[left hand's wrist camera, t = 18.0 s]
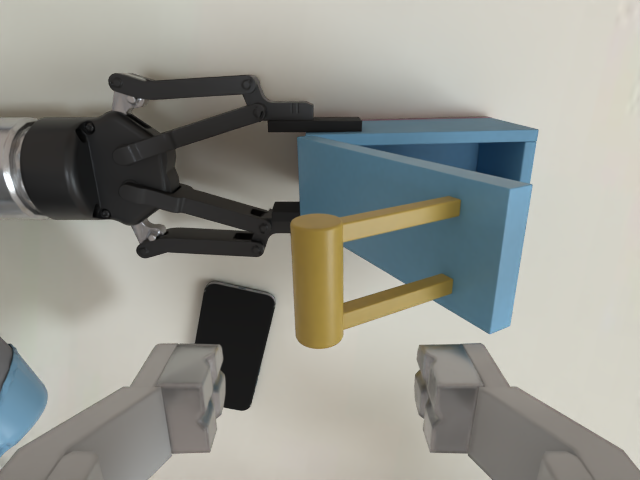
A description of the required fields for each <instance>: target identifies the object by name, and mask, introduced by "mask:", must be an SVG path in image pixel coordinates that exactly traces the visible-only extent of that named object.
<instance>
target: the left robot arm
mask: <svg viewBox="0 0 640 480" xmlns="http://www.w3.org/2000/svg"><path fill="white" fill-rule="evenodd" d="M222 362H223V353H222V347H221V346H220V344H178V343H165V344H157V345H156V346H155V347H154V348H153V350H152V352H151V353H150V355H149V356H148V358H147V360H146V361H145V363H144V365H143V366H142V368H141V369H140V371H139V373H138V374H137V376H136V377H135V379H134V381H133V382H132V384H131V386H130V387H122V388H121V389H119V390H117V391H115V392H114V393H112V394H110V395H109V396H107V397H105V398H104V399H102V400H100V401H99V402H97V403H95V404H94V405H92V406H90V407H88V408H87V409H85V410H83V411H82V412H80V413H78V414H77V415H75V416H73V417H72V418H70V419H68V420H67V421H65V422H63V423H61V424H60V425H58V426H56V427H55V428H53V429H51V430H50V431H48V432H46V433H45V434H43V435H41V436H40V437H38V438H36V439H34V440H33V441H31V442H29V443H28V444H26V445H24V446H23V447H21V448H19V449H18V450H17V451H16V452H15V453H14V455H13V456H12V457H11V458H10V460H9V461H8V462H7V463H6V464H5V466H4V467H3V468H2V469H1V471H0V480H148V479H149V478H150V477H151V476H152V475H153V474H154V473H155V472H156V471H157V470H158V469H159V468H160V467H161V466H162V465H163V464H164V463H165V462H166V461H167V460H168V459H169V458H170V457H171V456H172V453H206V452H210V451H211V448H212V444H213V441H214V438H215V434H216V431H217V424H216V419H217V418H218V417H219V416H220V415H221V414H222V410H223V406H224V400H225V374H224V373H223V372H222V371H221V370H220V368H221V365H222ZM417 362H418V365H419V368H420V370H419V371H418V372H417V373H416V374H415V385H414V387H415V401H416V406H417V410H418V414H419V415H420V416H421V417H422V418H423V419H424V424H423V431H424V434H425V438H426V441H427V444H428V447H429V451H430V452H432V453H468V456H469V457H470V458H471V459H472V460H473V461H474V462H475V463H476V464H477V465H478V466H479V467H480V468H481V469H482V470H483V471H484V472H485V473H486V474H487V475H488V476H489V477H490V478H491V479H492V480H640V470H639V469H638V468H637V467H636V465H635V464H634V463H633V462H632V461H631V459H630V458H629V457H628V456H627V454H626V453H625V452H624V451H623V450H622V449H620V448H619V447H617V446H615V445H614V444H612V443H610V442H609V441H607V440H605V439H604V438H602V437H600V436H599V435H597V434H595V433H593V432H592V431H590V430H588V429H587V428H585V427H583V426H582V425H580V424H578V423H577V422H575V421H573V420H572V419H570V418H568V417H567V416H565V415H563V414H562V413H560V412H558V411H556V410H555V409H553V408H551V407H550V406H548V405H546V404H545V403H543V402H541V401H540V400H538V399H536V398H535V397H533V396H531V395H530V394H528V393H526V392H525V391H523V390H521V389H519V388H518V387H510V386H509V384H508V382H507V381H506V379H505V378H504V376H503V374H502V373H501V371H500V370H499V368H498V366H497V365H496V363H495V362H494V360H493V358H492V357H491V355H490V354H489V352H488V350H487V349H486V347H485V346H484V345H483V344H481V343H471V344H447V345H419V348H418V352H417Z"/></svg>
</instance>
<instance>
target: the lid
mask: <svg viewBox="0 0 640 480" xmlns="http://www.w3.org/2000/svg"><path fill="white" fill-rule="evenodd" d="M297 145H298V170H299V195H300V216H299V217H296V218H294V219H293V220H292V221H291V223H290V228H291V249H292V269H293V289H294V309H295V330H296V338H297V340H298V341H299V342H300V343H301V344H302V345H304V346H306V347H309V348H314V349H324V348H329V347H332V346H334V345H336V344H338V343H339V342H340V341H341V339H342V337H343V330H344V329H347V328H350V327H353V326H356V325H359V324H362V323H365V322H368V321H371V320H374V319H377V318H380V317H383V316H386V315H389V314H392V313H395V312H398V311H401V310H404V309H407V308H410V307H413V306H416V305H419V304H422V303H425V302H428V301H431V300H433V301H435V302H437V303H438V304H440V305H442V306H443V307H445V308H447V309H448V310H450V311H452V312H453V313H455V314H457V315H458V316H460V317H462V318H463V319H465V320H467V321H468V322H470V323H472V324H473V325H475V326H477V327H478V328H480V329H482V330H483V331H485V332H487V333H488V334H492V333H494V332H497V331H499V330H501V329H504V328H506V327H509V326H510V323H511V317H512V310H513V304H514V298H515V292H516V285H517V279H518V273H519V267H520V260H521V254H522V248H523V242H524V235H525V229H526V223H527V217H528V210H529V204H530V198H531V191H532V184H528V183H524V182H519V181H515V180H510V179H506V178H501V177H497V176H492V175H488V174H483V173H479V172H474V171H470V170H465V169H461V168H456V167H452V166H447V165H443V164H439V163H434V162H430V161H425V160H421V159H416V158H412V157H407V156H403V155H398V154H394V153H389V152H385V151H380V150H376V149H371V148H367V147H362V146H358V145H353V144H349V143H344V142H340V141H335V140H331V139H326V138H322V137H317V136H302V137H297ZM343 247H345V248H347V249H348V250H350V251H352V252H353V253H355V254H357V255H358V256H360V257H362V258H363V259H365V260H367V261H368V262H370V263H372V264H373V265H375V266H377V267H378V268H380V269H382V270H383V271H385V272H387V273H388V274H390V275H392V276H393V277H395V278H397V279H398V280H400V281H402V282H403V283H405V285H401V286H398V287H395V288H391V289H388V290H385V291H381V292H378V293H375V294H372V295H368V296H365V297H362V298H358V299H355V300H352V301H348V302H345V303H343Z"/></svg>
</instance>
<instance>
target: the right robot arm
mask: <svg viewBox="0 0 640 480" xmlns="http://www.w3.org/2000/svg"><path fill="white" fill-rule="evenodd" d="M108 82H109V86H110V88H111V89H112V90H114V98H113V106H112V111H109V112H107V113H105V114H103V115H102V116H100V117H45V118H41V119H36V118H33V117H0V220H46V219H49V218H51V219H55V220H105V219H112V220H116V221H119V222H121V223H123V224H125V225H129V226H132V228H133V230H134V232H135V235H136V237H137V239H138V241H139V243H140V244H139V245H138V247H137V249H136V251H137V254H138V255H139V256H140V257H142V258H149V257H153V256H156V255H160V254H163V253H167V252H171V253H190V254H210V255H229V256H248V257H259V256H261V255H262V254H263V252H264V249H265V247H266V244H267V241H268V238H269V237H270V236H271V235H272V234H275V233H291V228H290V223H291V221H292V220H293V219H294V218H296V217H299V216H300V202H275V203H274V206H273V209H270V210H269V211H267V210H264V209H260V208H257V207H253V206H250V205H246V204H243V203H239V202H236V201H232V200H229V199H225V198H222V197H219V196H215V195H212V194H208V193H205V192H201V191H198V190H195V189H193V188H192V187H190V186H188V185H184V184H181V183H179V178H178V175H177V172H176V169H175V160H176V153H175V149H176V148H178V147H181V146H185V145H188V144H191V143H194V142H197V141H200V140H203V139H206V138H209V137H213V136H216V135H219V134H222V133H225V132H228V131H231V130H234V129H237V128H241V127H244V126H247V125H250V124H253V123H256V122H261V121H268V132H362V120H361V119H360V118H359V117H313V104H311V103H309V102H307V101H299V102H298V101H293V102H292V101H270V100H268V99H267V98H266V97H265V95H264V93H263V91H262V88H261V86H260V81H259V79H258V78H257V77H256V76H254V75H239V76H222V77H206V78H190V79H174V80H157V81H155V80H152V79H149V78H146V77H142V76H139V75H136V74H132V73H114V74H112V75H111V76H110V77H109V80H108ZM240 94H243V97H244V99H245V102H246V104H247V106H244V107H241V108H238V109H235V110H232V111H229V112H225V113H222V114H219V115H216V116H213V117H210V118H207V119H204V120H201V121H198V122H195V123H192V124H189V125H186V126H183V127H179V128H176V129H173V130H170V131H167V132H164V133H159V132H158V131H156V130H155V129H153V128H152V127H150V126H149V125H147V124H146V123H144V122H143V121H141V120H140V119H138V118H137V117H135V116H134V115H133V114H131V112H132V110H133V109H134V108H139V107H143V106H146V105H147V104H148V101H149V100H158V99H174V98H191V97H207V96H224V95H240ZM158 209H162V210H166V211H169V212H173V213H186V214H189V215H193V216H196V217H200V218H204V219H207V220H211V221H214V222H218V223H221V224H225V225H228V226H232V227H235V228H239V229H243V230H246V231H236V230H217V229H198V228H170V229H166V227H165V226H164V225H161V224H152V223H151V222H149V221H148V219H147V218H148V217H149V216H150V215H152V214H153V213H154V212H156V211H157V210H158ZM47 398H48V394H47V390H46V388H45V386H44V384H43V383H42V382H41V381H40V379H39V378H38V377H37V376H36V374H35V373H34V372H33V371H32V369H31V368H30V367H29V366H28V365H27V363H26V362H25V361H24V360H23V358H22V357H21V356H20V355H19V353H18V352H17V349H16V348H15V347H14V346H13V345H12V344H7V343H6V342H5V341H4V340H3V339H2V338H1V337H0V457H1V456H2V455H3V454H4V453H5V452H6V451H7V450H8V449H10V448H11V447H13V446H14V445H16V444H17V443H18V442H19V441H20V440H21V439H22V438H23V437H24V436H25V435H26V433H27V432H28V431H29V430H30V429H31V428H32V427H33V426H34V424H35V423H36V422H37V420H38V419H39V417H40V416H41V414H42V413H43V411H44V409H45V406H46V404H47Z"/></svg>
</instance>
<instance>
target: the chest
mask: <svg viewBox="0 0 640 480" xmlns="http://www.w3.org/2000/svg"><path fill="white" fill-rule="evenodd" d="M305 136H317V137H322V138H326V139H331V140H335V141H340V142H344V143H349V144H353V145H358V146H362V147H367V148H371V149H376V150H380V151H385V152H389V153H394V154H398V155H403V156H407V157H412V158H416V159H421V160H425V161H430V162H434V163H439V164H443V165H447V166H452V167H456V168H461V169H465V170H470V171H474V172H479V173H483V174H488V175H492V176H497V177H501V178H506V179H510V180H515V181H519V182H524V183H528V184H530V179H531V173H532V166H533V160H534V154H535V147H536V142H535V141H537V136H538V129H534V128H530V127H526V126H522V125H518V124H514V123H510V122H506V121H502V120H498V119H494V118H491V117H457V118H414V119H370V120H362V132H306V135H305Z"/></svg>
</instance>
